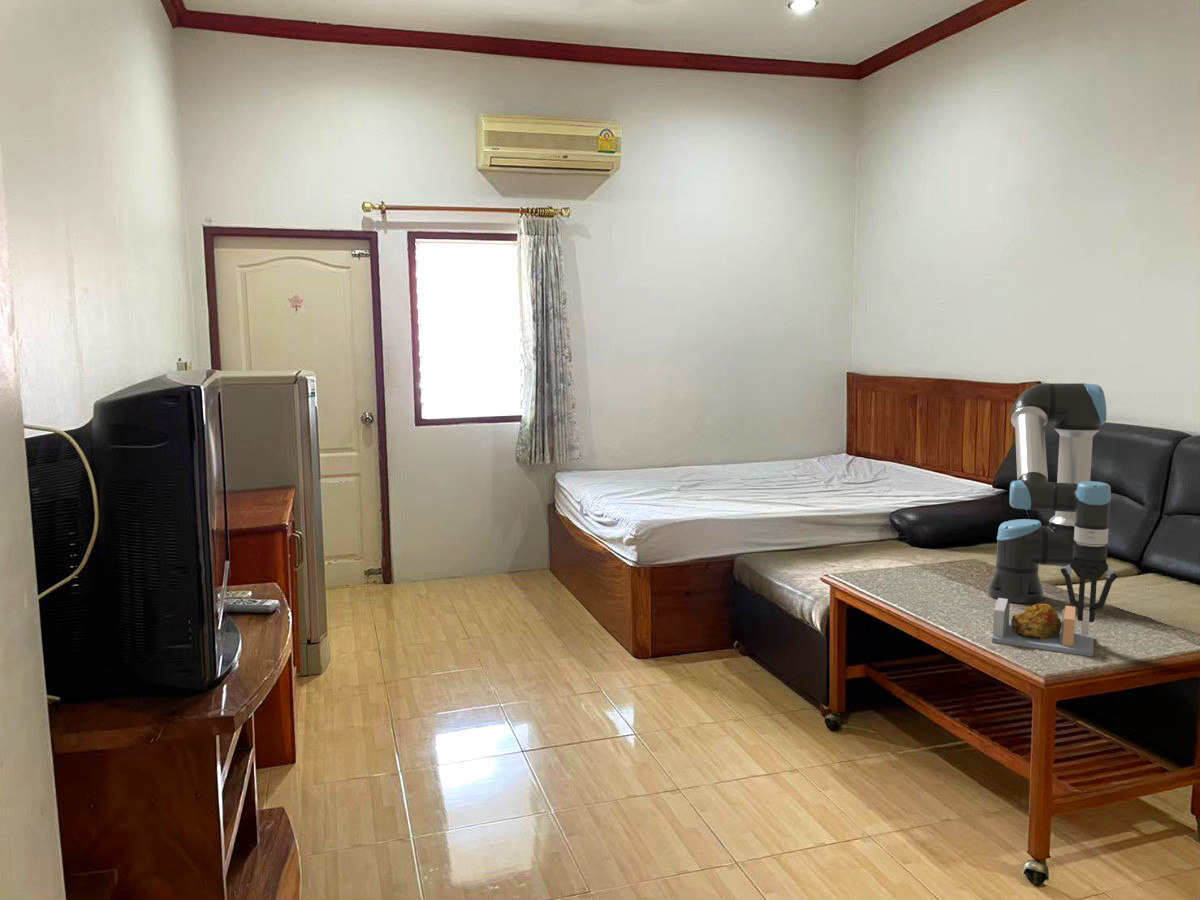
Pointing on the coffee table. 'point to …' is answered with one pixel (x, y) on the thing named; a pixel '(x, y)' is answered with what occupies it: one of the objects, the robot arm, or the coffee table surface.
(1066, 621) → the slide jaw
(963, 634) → the coffee table surface
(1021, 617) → the rock
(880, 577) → the coffee table surface
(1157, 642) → the coffee table surface
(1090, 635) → the base
